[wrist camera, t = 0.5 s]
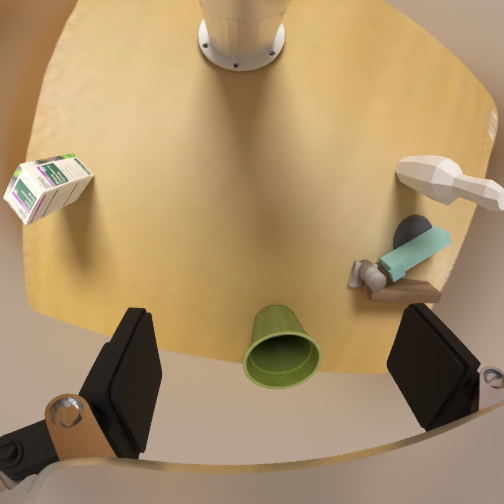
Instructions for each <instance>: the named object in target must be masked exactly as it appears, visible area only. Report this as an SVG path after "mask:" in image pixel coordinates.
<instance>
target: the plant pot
mask: <svg viewBox="0 0 504 504" xmlns="http://www.w3.org/2000/svg"><path fill="white" fill-rule="evenodd" d="M321 362H322V350H321V347H320V346H319V344H318V343H317V342H316V341H315V340H314V339H313V338H312V337H310V336H309V335H308V334H307V333H306V332H305V331H304V329H303V328H302V326H301V324H300V323H299V321H298V320H297V318H296V317H295V315H294V313H293V312H292V311H291V310H290V309H289V308H287V307H283V306H279V305H272V306H269V307H266V308H264V309H263V310H261V311H260V312H259V314H258V315H257V317H256V320H255V324H254V330H253V335H252V340H251V344H250V346H249V349H248V350H247V351H246V353H245V355H244V359H243V369H244V372H245V374H246V376H247V377H248V378H249V379H250V380H251V381H252V382H253V383H255V384H257V385H259V386H261V387H265V388H269V389H285V388H291V387H294V386H297V385H299V384H302V383H304V382H305V381H307V380H308V379H310V378H311V377H312V376H313V375H314V374H315V373H316V371H317V370H318V369H319V367H320V365H321Z"/></svg>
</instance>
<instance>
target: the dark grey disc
mask: <svg viewBox="0 0 504 504" xmlns="http://www.w3.org/2000/svg"><path fill="white" fill-rule="evenodd" d="M431 228H432V226H431V224H430V222H429V221H428V220H427V219H426V218H425V217H423V216H420V215H413V216H410V217H408V218H406V219H405V220H404V221H403V222H402V223H401V224H400V225H399V227H398V229H397V231H396V233H395V236H394V250H395V249H397V248H398V247H400V246H402V245H404V244H405V243H407V242H409V241H411V240H412V239H414V238H416V237H418V236H419V235H421V234H423V233H424V232H426V231H428V230H430V229H431Z"/></svg>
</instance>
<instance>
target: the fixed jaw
mask: <svg viewBox="0 0 504 504" xmlns="http://www.w3.org/2000/svg"><path fill="white" fill-rule="evenodd" d="M377 268H378V265H377V264H375V263H371V262H370V261H368V260H362V261H360V262H358V261H354V264H353V268H352V272H351V275H350V279H349V282H348V285H349V286H350V287H359V288H361V289H362V291H363V292H364V293H365V294H366V296H367V297H368V298H369V300H370V301H384V302H408V303H438V302H439V300H440V298H441V295H442V294H441V293H440V292H439V291H438V290H437V289H436V288H434V287H433V286H432V285H431V284H430V283H429V282H427V281H418V280H407V279H398V280H396V281H395V282H393V281H392V280H391V279H390V278H386V277H385V276H384V275H383V274H382V273H381V272H380V271H379V270H378V269H377Z"/></svg>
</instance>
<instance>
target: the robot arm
mask: <svg viewBox="0 0 504 504" xmlns="http://www.w3.org/2000/svg"><path fill="white" fill-rule="evenodd" d="M199 1H200V5H201V9H202V13H203V17H204V18H203V20H202V22H201V23H200V26H199V29H198V42H199V46H200V48H201V50H202V52H203V54H204V55H205V56H206V57H207V59H208V60H210V61H211V62H212V63H213V64H215V65H217V66H219V67H221V68H224V69H227V70H231V71H251V70H256V69H259V68H262V67H264V66H265V65H267V64H269V63H270V62H272V61H273V60H274V59H275V58H276V57H277V56H278V54H279V53H280V51H281V50H282V47H283V45H284V42H285V29H284V26H283V23H282V20H283V18H284V15H285V13H286V11H287V9H288V6H289V4H290V2H291V0H199ZM205 46H208V47H207V48H204V47H205ZM271 53H272V54H273V56H271V55H270V54H271ZM235 65H237V66H238V67H234V66H235ZM480 364H481V363H480V362H479V361H478V359H477V358H476V357H475V356H474V355H473V354H472V353H471V352H470V351H469V350H468V349H467V347H466V346H465V345H464V344H463V343H462V342H461V341H460V340H459V339H458V338H457V337H456V335H454V333H453V332H452V331H451V330H450V329H449V328H448V327H447V326H446V325H445V324H444V323H443V322H442V321H441V320H440V319H439V318H438V317H437V316H436V315H435V314H434V313H433V312H432V311H431V310H430V309H429V308H428V307H427V306H426V305H425V304H424V303H414V304H410V305H409V306H408V307H407V308H406V309H405V310H404V313H403V316H402V320H401V323H400V326H399V329H398V332H397V335H396V338H395V340H394V343H393V346H392V349H391V352H390V354H389V357H388V360H387V368H388V370H389V372H390V374H391V375H392V377H393V379H394V380H395V382H396V384H397V385H398V387H399V389H400V391H401V392H402V394H403V396H404V398H405V399H406V401H407V403H408V405H409V406H410V408H411V410H412V412H413V413H414V415H415V417H416V419H417V420H418V422H419V424H420V426H421V427H422V428H425V430H426V432H425V433H422V434H419V435H416V436H413V437H410V438H407V439H404V440H400V441H397V442H393V443H390V444H386V445H382V446H378V447H374V448H371V449H367V450H362V451H358V452H353V453H348V454H343V455H337V456H332V457H326V458H319V459H312V460H305V461H296V462H287V463H274V464H259V465H200V464H181V463H169V462H159V461H148V460H138V458H139V454H140V452H141V453H144V452H145V449H146V445H147V440H148V435H149V431H150V426H151V422H152V417H153V413H154V409H155V404H156V400H157V396H158V392H159V388H160V384H161V379H162V369H161V364H160V359H159V354H158V349H157V343H156V338H155V333H154V327H153V321H152V315H151V313H147V312H146V309H145V308H128V310H127V311H126V313H125V315H124V317H123V318H122V320H121V322H120V324H119V326H118V327H117V329H116V331H115V333H114V335H113V337H112V339H111V340H110V342H107V343H105V344H104V346H103V347H102V349H101V351H100V353H99V355H98V357H97V359H96V361H95V363H94V365H93V366H92V368H91V370H90V372H89V374H88V376H87V378H86V380H85V382H84V384H83V386H82V388H81V390H80V392H79V394H78V395H75V394H63V395H59V396H57V397H55V398H54V399H52V400H51V401H50V402H49V404H48V405H47V407H46V409H45V419H44V420H42V421H39V422H37V423H35V424H32V425H29V426H27V427H24V428H22V429H19V430H16V431H14V432H12V433H8V434H6V435H3V436H1V437H0V504H504V372H503V371H502V370H500V369H499V368H496V367H492V366H486V367H484V368H483V369H482V370H481V371H480V373H478V372H477V369H478V368H479V366H480Z"/></svg>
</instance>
